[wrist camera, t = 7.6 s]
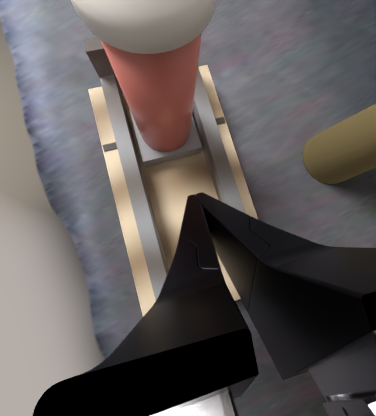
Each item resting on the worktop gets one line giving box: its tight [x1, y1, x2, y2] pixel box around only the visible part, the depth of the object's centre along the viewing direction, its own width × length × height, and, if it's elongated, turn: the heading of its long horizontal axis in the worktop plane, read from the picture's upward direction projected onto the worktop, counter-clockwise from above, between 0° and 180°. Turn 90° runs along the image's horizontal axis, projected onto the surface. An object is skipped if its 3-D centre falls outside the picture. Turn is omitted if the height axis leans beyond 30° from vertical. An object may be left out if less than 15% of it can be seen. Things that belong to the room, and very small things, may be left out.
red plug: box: [71, 0, 216, 166], centre depth 10 cm, size 5×5×10 cm
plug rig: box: [83, 37, 258, 317], centre depth 14 cm, size 22×12×6 cm, turn 16°
